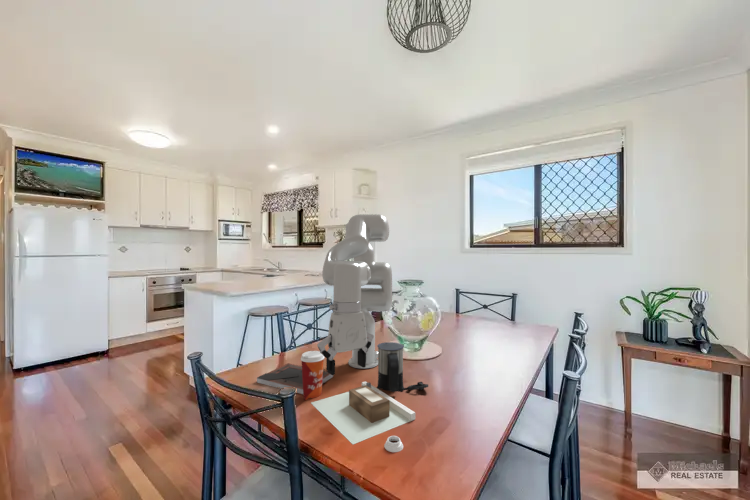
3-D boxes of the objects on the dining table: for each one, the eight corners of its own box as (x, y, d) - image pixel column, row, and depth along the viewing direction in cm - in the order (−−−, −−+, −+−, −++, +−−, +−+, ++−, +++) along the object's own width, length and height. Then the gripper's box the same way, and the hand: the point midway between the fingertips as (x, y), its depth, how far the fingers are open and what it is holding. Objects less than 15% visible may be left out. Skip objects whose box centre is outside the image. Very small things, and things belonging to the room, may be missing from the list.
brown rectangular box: (349, 405, 94) (349, 389, 94) (365, 399, 98) (365, 384, 98) (371, 423, 85) (371, 405, 85) (389, 416, 88) (389, 399, 88)
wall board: (365, 390, 107) (365, 374, 107) (415, 423, 87) (415, 404, 87) (310, 406, 96) (310, 389, 96) (352, 449, 75) (352, 427, 75)
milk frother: (372, 385, 111) (373, 343, 111) (412, 378, 117) (412, 338, 117) (390, 403, 98) (390, 355, 98) (433, 394, 104) (433, 349, 104)
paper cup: (313, 405, 97) (313, 359, 97) (295, 399, 101) (295, 355, 101) (329, 395, 103) (329, 352, 103) (312, 389, 107) (312, 348, 107)
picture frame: (256, 384, 113) (305, 396, 104) (256, 377, 113) (305, 389, 104) (288, 368, 128) (333, 378, 119) (288, 362, 128) (333, 371, 119)
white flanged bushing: (387, 443, 78) (380, 455, 73) (387, 431, 78) (380, 443, 73) (406, 448, 76) (400, 461, 72) (406, 436, 76) (401, 448, 72)
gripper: (324, 312, 79) (324, 381, 79) (380, 306, 89) (380, 367, 89) (312, 308, 85) (311, 372, 85) (365, 302, 95) (365, 359, 95)
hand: (346, 369), depth 87 cm, fingers open, 9 cm apart
